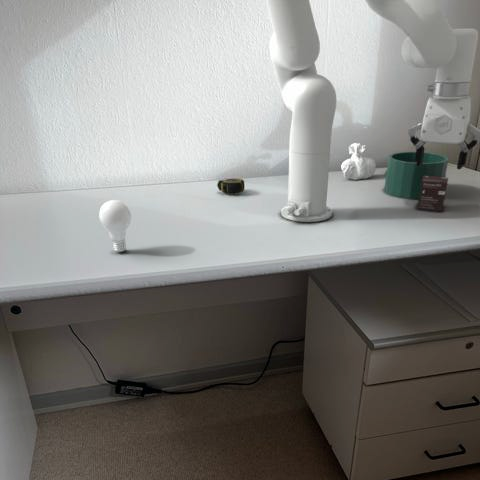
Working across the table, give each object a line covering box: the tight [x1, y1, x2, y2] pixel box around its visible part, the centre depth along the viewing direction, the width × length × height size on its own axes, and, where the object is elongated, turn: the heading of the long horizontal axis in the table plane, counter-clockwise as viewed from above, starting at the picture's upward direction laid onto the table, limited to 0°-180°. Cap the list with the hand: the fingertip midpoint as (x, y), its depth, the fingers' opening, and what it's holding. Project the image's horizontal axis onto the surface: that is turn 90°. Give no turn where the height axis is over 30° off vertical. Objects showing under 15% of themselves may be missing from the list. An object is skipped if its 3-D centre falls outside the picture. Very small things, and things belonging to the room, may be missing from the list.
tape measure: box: [216, 178, 245, 196], centre depth 142 cm, size 7×7×4 cm
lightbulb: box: [98, 199, 132, 254], centre depth 102 cm, size 6×6×11 cm
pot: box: [384, 151, 450, 200], centre depth 139 cm, size 16×16×10 cm
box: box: [416, 176, 449, 212], centre depth 126 cm, size 6×6×7 cm
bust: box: [340, 142, 377, 181], centre depth 154 cm, size 12×8×11 cm
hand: (439, 166), depth 123 cm, fingers open, 9 cm apart
